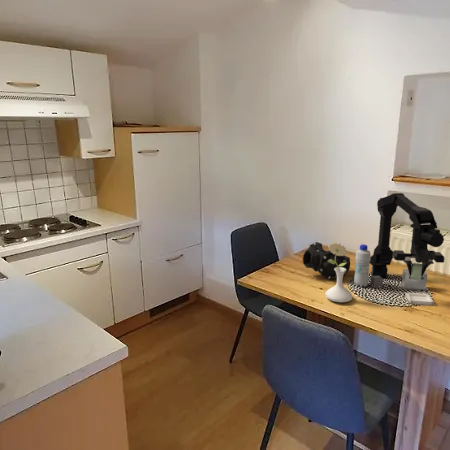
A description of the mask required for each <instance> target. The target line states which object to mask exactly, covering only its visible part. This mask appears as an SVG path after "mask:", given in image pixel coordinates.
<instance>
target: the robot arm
mask: <svg viewBox="0 0 450 450" xmlns="http://www.w3.org/2000/svg"><path fill="white" fill-rule="evenodd" d="M376 206H377V212H378V213H379V215H380V219H379V220H380V221H379V229H378V231H379V232H378V239H377V240H378V241H377V242H378V243H377V245H376V247H375V248H374V249H373V253H372V255H370V256H371V259H370V263H369V265H371V272H370V276H380V277H381V278H382V279H387V277H388V271H389V270H388V266H389V265H391V263H392V261H393V260H395V261H398V262H399V261H401V262H403V263H405V264H406V267H407V268H406V269H408V271H409V275H410V276H411V273H412V268H411V266H412V263H413V261H412V260H411V259H414V261H415V263H419V264H422V273H421V276H423V274H424V272H426V270H427V269H428V267H429V266H430V265H434V262H435V263H440V264H443V263H445V260H446V259H445V258H446V257H445V256H444V255H443V253H441V252H440V251H435V250H430V249H429V248H428V246H431V247H433V248H439V247H441V246H442V245H443V243H444V241H445V236H444V235H443V234H442V233H441V229H438V226H437V225H438V224H437V222H436V219H435V216H434V213H433V211H431V209H429V208H426V207H423V206H419V205H418V204H416V203H415V202H414V201H412V199H409V198H408V197H407V196H405V194H404V193H402V192H395V193H391V194H390V195H387V196H384V197H380V198H379V199H378V200H377V203H376ZM398 207H399V208H400V209H402V210H403V211H404V212H405V213H407V215H408V218H409V221H411V222H412V224H410V225H409V226H410V228H412V236H411V240H410V243H411V244H410V251H409V252H410V253H409V252H408V253H406V252H404V250H402V249H401V250H398V249H396V250H392V249H391V247H390V243H391V242H390V241H391V230H392V219H393V217H394V215H395V213H396V212H397V209H398Z"/></svg>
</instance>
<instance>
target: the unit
mask: <svg viewBox="0 0 450 450" xmlns="http://www.w3.org/2000/svg"><path fill="white" fill-rule="evenodd" d="M427 280H428V273H427V272H426V271H425V272H424V274H423V276H421V279H420V280H414V279H411V278H410V275H409V271H408V268H402V277H401V289H402V290H404V289H408V290H409V291H421V290H423V291H422V292H424V291H425V292H427V291H428V288H427ZM402 286H403V287H402Z"/></svg>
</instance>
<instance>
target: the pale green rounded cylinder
mask: <svg viewBox="0 0 450 450" xmlns="http://www.w3.org/2000/svg"><path fill="white" fill-rule="evenodd" d="M411 268H412V273H411V276H410V278H411V279H414V280H420V279H421V273H422V263H417V262H412V265H411Z"/></svg>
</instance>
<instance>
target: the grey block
mask: <svg viewBox="0 0 450 450" xmlns="http://www.w3.org/2000/svg"><path fill="white" fill-rule="evenodd" d="M369 281H370V283H369V284H370V285H371V284H372V285H373V286H374V287H373V286H372V285H371V286H372V287H373V288H380V287H379V286H382V287H383V284H384V278H381V277H380V276H372V275H370V280H369Z"/></svg>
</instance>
